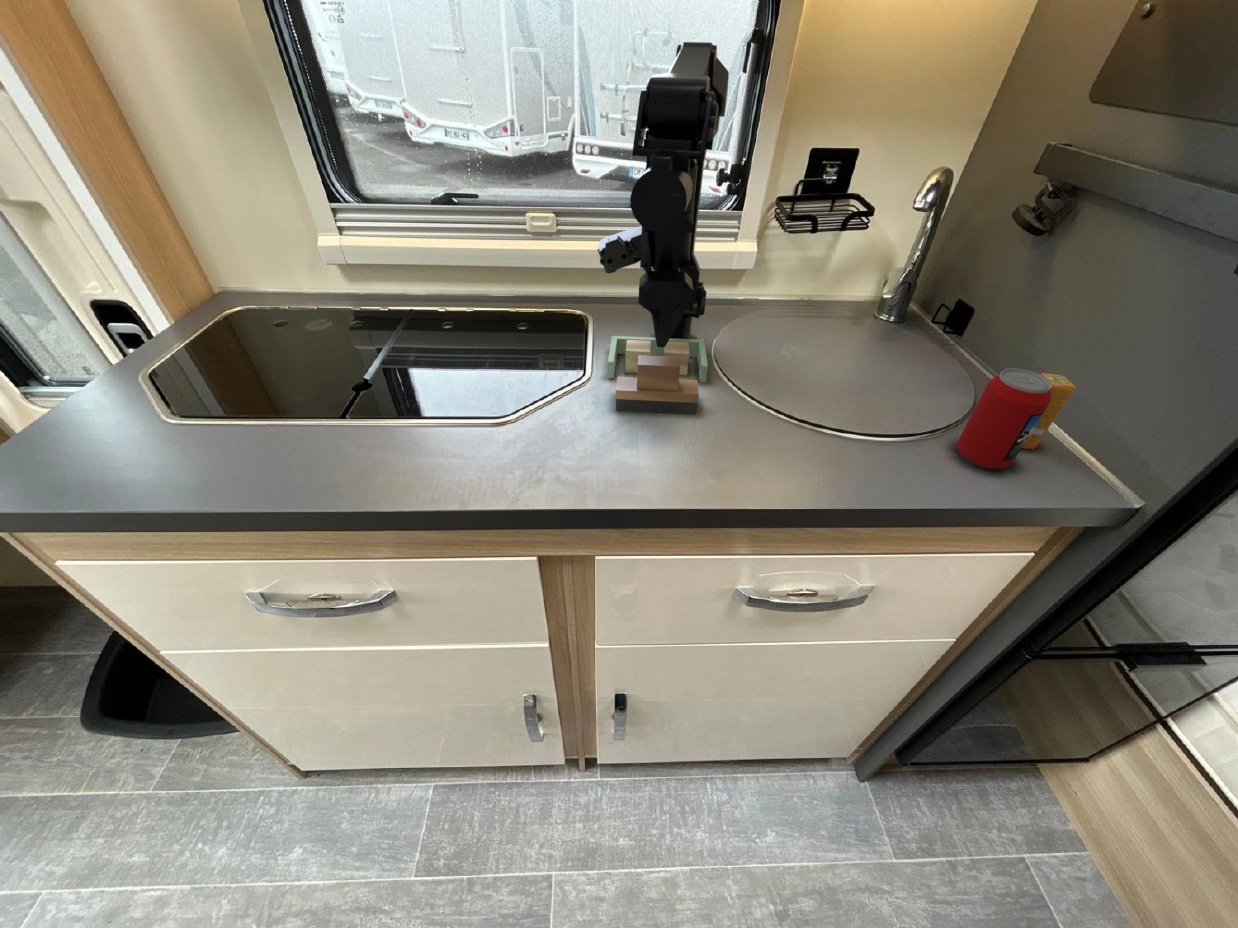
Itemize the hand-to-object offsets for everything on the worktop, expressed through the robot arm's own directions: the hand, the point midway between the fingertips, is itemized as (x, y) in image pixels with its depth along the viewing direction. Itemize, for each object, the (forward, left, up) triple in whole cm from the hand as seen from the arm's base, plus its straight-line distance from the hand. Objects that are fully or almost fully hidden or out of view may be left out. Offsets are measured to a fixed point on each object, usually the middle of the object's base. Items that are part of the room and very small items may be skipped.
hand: (661, 331), depth 72 cm
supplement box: (+5, +51, -12) cm, 53 cm away
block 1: (-12, -3, -12) cm, 17 cm away
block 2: (-12, +3, -12) cm, 17 cm away
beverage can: (+9, +44, -12) cm, 47 cm away
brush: (0, 0, -12) cm, 12 cm away
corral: (-12, 0, -12) cm, 17 cm away
